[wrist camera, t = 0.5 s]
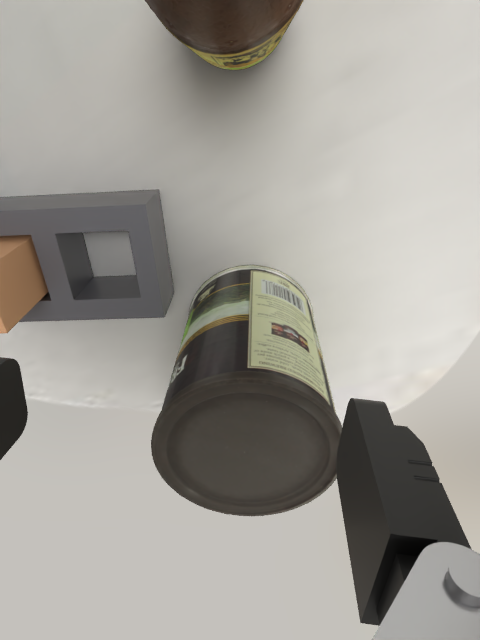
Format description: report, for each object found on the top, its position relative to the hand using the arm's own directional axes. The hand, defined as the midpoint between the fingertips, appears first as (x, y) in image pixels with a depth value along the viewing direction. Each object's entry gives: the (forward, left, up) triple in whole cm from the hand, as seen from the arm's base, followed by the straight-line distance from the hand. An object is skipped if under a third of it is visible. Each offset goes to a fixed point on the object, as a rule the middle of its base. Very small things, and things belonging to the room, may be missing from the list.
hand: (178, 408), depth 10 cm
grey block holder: (+3, -12, -22) cm, 25 cm away
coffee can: (+10, +1, -22) cm, 24 cm away
